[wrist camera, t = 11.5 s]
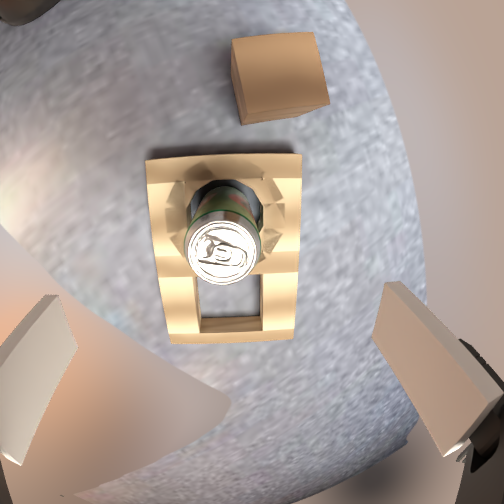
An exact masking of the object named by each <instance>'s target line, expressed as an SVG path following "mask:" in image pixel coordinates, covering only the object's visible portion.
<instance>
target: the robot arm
mask: <svg viewBox="0 0 504 504" xmlns="http://www.w3.org/2000/svg"><path fill="white" fill-rule="evenodd" d="M58 1H59V0H0V20H1V21H2V22H4V23H6V24H9V25H12V26H20V25H24V24H26V23H29V22H31V21H33V20H34V19H36V18H38V17H39V16H41V15H42V14H44V13H45V12H46V11H48V10H49V9H50V8H51V7H53V6H54V5H55V4H56V3H57V2H58ZM372 339H373V341H374V342H375V344H376V345H377V347H378V348H379V350H380V351H381V353H382V355H383V356H384V358H385V359H386V361H387V362H388V364H389V366H390V367H391V369H392V370H393V372H394V374H395V375H396V377H397V378H398V380H399V382H400V383H401V385H402V387H403V388H404V390H405V392H406V393H407V395H408V397H409V398H410V400H411V402H412V403H413V405H414V407H415V408H416V410H417V412H418V414H419V415H420V417H421V419H422V420H423V422H424V424H425V426H426V428H427V429H428V431H429V433H430V435H431V436H432V438H433V440H434V442H435V444H436V446H437V447H438V449H439V451H440V453H441V455H442V457H444V456H446V455H448V454H450V453H451V452H453V451H455V450H457V449H459V448H460V447H461V446H462V445H463V444H464V443H465V441H466V440H467V439H468V438H469V439H470V440H471V444H470V445H469V446H468V447H467V448H466V449H465V450H464V451H463V452H462V453H461V454H460V455H459V456H458V458H457V460H456V462H459V461H460V460H461V459H462V458H463V457H464V456H465V455H466V454H467V456H466V458H465V459H464V460H463V461H462V462H463V463H465V466H464V471H463V475H462V480H461V484H460V488H459V491H458V495H457V499H456V502H455V504H504V382H503V381H502V380H501V378H500V377H499V376H498V375H497V374H496V373H495V371H494V370H493V369H492V368H491V367H490V366H489V364H486V361H485V360H484V359H483V358H482V357H480V354H479V353H478V352H477V351H476V350H475V349H474V348H473V347H472V346H471V345H470V344H468V343H467V342H465V341H463V340H462V339H457V338H456V337H455V336H454V334H453V333H452V332H450V330H449V329H448V328H447V327H446V326H445V325H444V324H443V323H442V322H441V321H440V320H439V319H438V318H437V317H436V316H435V315H434V314H433V313H432V312H431V311H430V310H429V309H428V308H427V307H426V306H425V305H424V304H423V303H422V302H421V301H420V300H419V299H418V298H417V297H416V296H415V295H414V294H413V293H412V292H411V291H410V290H409V289H408V288H407V287H406V286H405V285H404V284H403V283H401V282H400V281H396V282H387V283H385V284H384V289H383V293H382V298H381V302H380V306H379V311H378V315H377V319H376V322H375V326H374V330H373V334H372ZM77 349H78V346H77V343H76V341H75V339H74V336H73V334H72V331H71V329H70V326H69V323H68V321H67V318H66V315H65V313H64V310H63V307H62V304H61V301H60V298H59V295H45V296H44V297H43V298H42V299H41V300H40V301H39V302H38V303H37V304H36V305H35V306H34V307H33V309H32V310H31V311H30V312H29V313H28V314H27V315H26V316H25V318H24V319H23V320H22V321H21V322H20V323H19V325H18V326H17V327H16V328H15V329H14V330H13V332H12V333H11V334H10V335H9V336H8V338H7V339H6V340H5V341H4V343H3V344H2V345H1V346H0V452H1V453H2V454H3V455H4V456H5V457H6V458H7V459H9V460H11V461H13V462H15V463H17V464H19V465H21V466H22V464H23V461H24V458H25V456H26V453H27V451H28V448H29V446H30V443H31V441H32V438H33V436H34V434H35V431H36V429H37V427H38V425H39V423H40V420H41V418H42V416H43V414H44V412H45V410H46V408H47V405H48V404H49V401H50V399H51V397H52V395H53V393H54V391H55V389H56V388H57V385H58V384H59V382H60V380H61V378H62V376H63V374H64V372H65V370H66V369H67V367H68V365H69V363H70V361H71V360H72V358H73V356H74V354H75V352H76V351H77ZM0 504H13V503H12V500H11V497H10V494H9V491H8V487H7V484H6V480H5V477H4V473H3V469H2V465H1V461H0Z"/></svg>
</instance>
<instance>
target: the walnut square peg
mask: <svg viewBox="0 0 504 504" xmlns="http://www.w3.org/2000/svg"><path fill="white" fill-rule="evenodd" d="M231 78H232V83H233V88H234V92H235V97H236V102H237V107H238V112H239V117H240V122H241V126H242V125H247V124H253V123H259V122H265V121H271V120H278V119H285V118H293V117H298V116H300V115H303V114H305V113H308V112H310V111H313V110H315V109H318V108H321V107H323V106H326V105H329V104H330V100H329V95H328V91H327V86H326V81H325V77H324V72H323V68H322V64H321V60H320V56H319V52H318V48H317V44H316V40H315V37H314V33H313V32H297V33H280V34H268V35H258V36H250V37H243V38H236V39H232V47H231Z"/></svg>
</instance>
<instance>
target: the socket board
mask: <svg viewBox="0 0 504 504" xmlns="http://www.w3.org/2000/svg"><path fill="white" fill-rule="evenodd" d="M145 163H146V178H147V191H148V202H149V212H150V221H151V230H152V238H153V246H154V253H155V260H156V266H157V273H158V279H159V285H160V291H161V296H162V302H163V307H164V312H165V317H166V322H167V327H168V332H169V336H170V341H171V344H208V343H238V342H257V341H272V340H285V339H293V334H294V322H295V309H296V295H297V280H298V263H299V244H300V219H301V184H302V154H295V153H240V154H213V155H196V156H182V157H170V158H159V159H151V160H146V161H145ZM222 179H235V180H237V181H239V182H241V183H243V184H244V185H246V186H248V187H250V188H252V189H253V190H254V192H255V194H256V195H257V197H258V198H259V200H260V219H259V221H258V222H257V224H256V226H257V229H258V232H259V235H260V239H261V254H260V258H259V260H258V262H257V264H256V266H255V267H254V268H253V269H252V271H251V272H250V273H249V274H248V275H252V274H260V316H248V317H225V318H201V311H200V302H199V294H198V285H197V277H199V276H198V275H197V274H196V273H195V272H194V271H193V269H192V268H191V267H190V265H189V264H188V262H187V260H186V257H185V254H184V238H185V235H186V232H187V230H188V228H189V225H190V223H191V221H192V219H191V205H190V203H191V201H192V199H193V197H194V195H195V193H196V191H197V190H198V189H199V188H201V187H202V186H204V185H206V184H207V183H209V182H210V181H212V180H222Z"/></svg>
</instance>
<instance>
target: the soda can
mask: <svg viewBox="0 0 504 504" xmlns="http://www.w3.org/2000/svg"><path fill="white" fill-rule="evenodd" d="M184 254H185V257H186V260H187V262H188V264H189V265H190V267H191V268H192V269H193V271H194V272H195V273H196V274H197V275H198V276H199V277H200V278H201V279H203V280H205V281H207V282H209V283H212V284H216V285H229V284H233V283H236V282H238V281H240V280H242V279H243V278H244V277H246V276H247V275H248V274H249V273H250V272H251V271H252V269H253V268H254V267H255V266H256V264H257V262H258V260H259V258H260V254H261V239H260V235H259V232H258V229H257V226H256V223H255V220H254V217H253V214H252V211H251V208H250V205H249V202H248V200H247V198H246V197H245V195H244V194H243V193H242V192H240V191H239V190H237V189H235V188H233V187H227V186H223V187H217V188H215V189H212V190H211V191H209V192H208V193H207V194H206V195H205V196H204V198H203V199H202V201H201V203H200V205H199V207H198V209H197V211H196V213H195V215H194V217H193V219H192V221H191V223H190V225H189V228H188V230H187V232H186V235H185V238H184Z"/></svg>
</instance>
